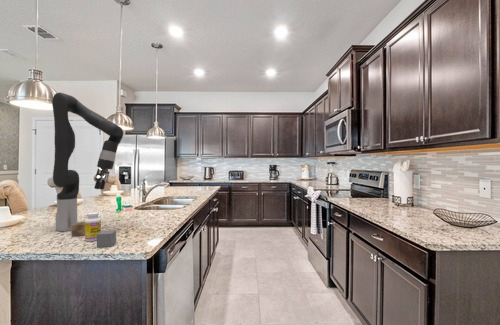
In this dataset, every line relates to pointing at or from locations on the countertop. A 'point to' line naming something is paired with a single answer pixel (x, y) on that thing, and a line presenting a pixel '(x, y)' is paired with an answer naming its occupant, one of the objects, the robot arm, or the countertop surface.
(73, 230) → the walnut block
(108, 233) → the charcoal block
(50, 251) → the countertop surface
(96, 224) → the supplement bottle
